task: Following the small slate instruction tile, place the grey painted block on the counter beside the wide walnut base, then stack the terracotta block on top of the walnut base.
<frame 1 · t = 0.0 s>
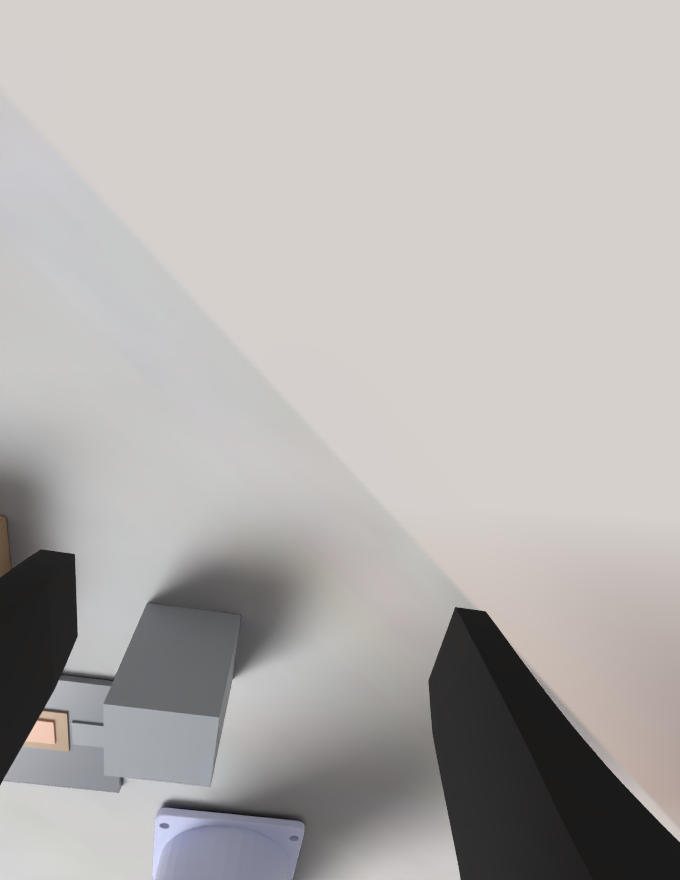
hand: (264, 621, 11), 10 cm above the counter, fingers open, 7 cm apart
grey block: (191, 641, 25), on the counter
instruction tile: (59, 730, 27), on the counter
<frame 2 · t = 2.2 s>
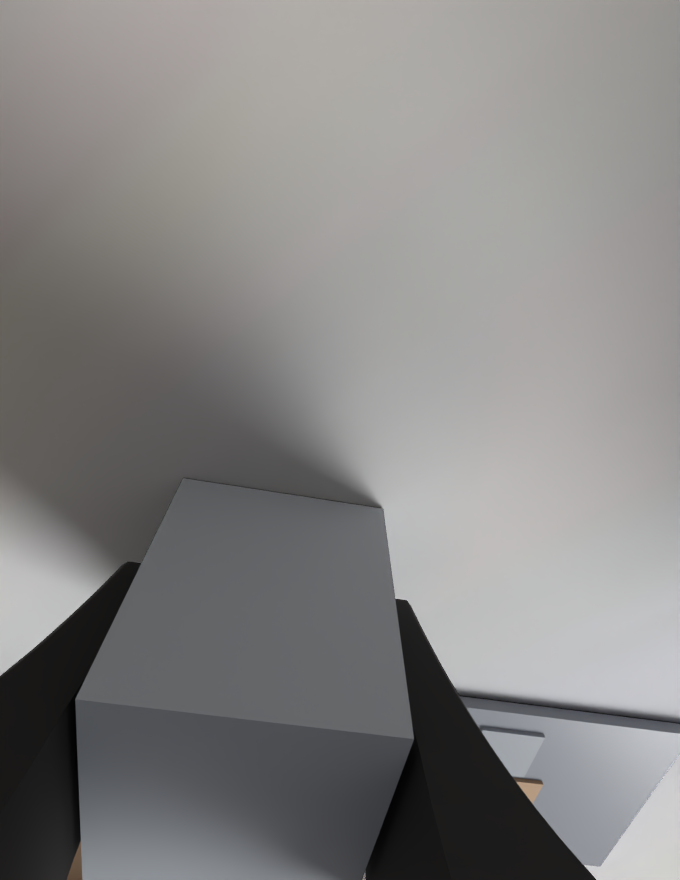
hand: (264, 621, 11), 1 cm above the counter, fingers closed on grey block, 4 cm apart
grey block: (271, 571, 12), on the counter, touching gripper
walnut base: (157, 850, 17), on the counter
instruction tile: (499, 779, 15), on the counter
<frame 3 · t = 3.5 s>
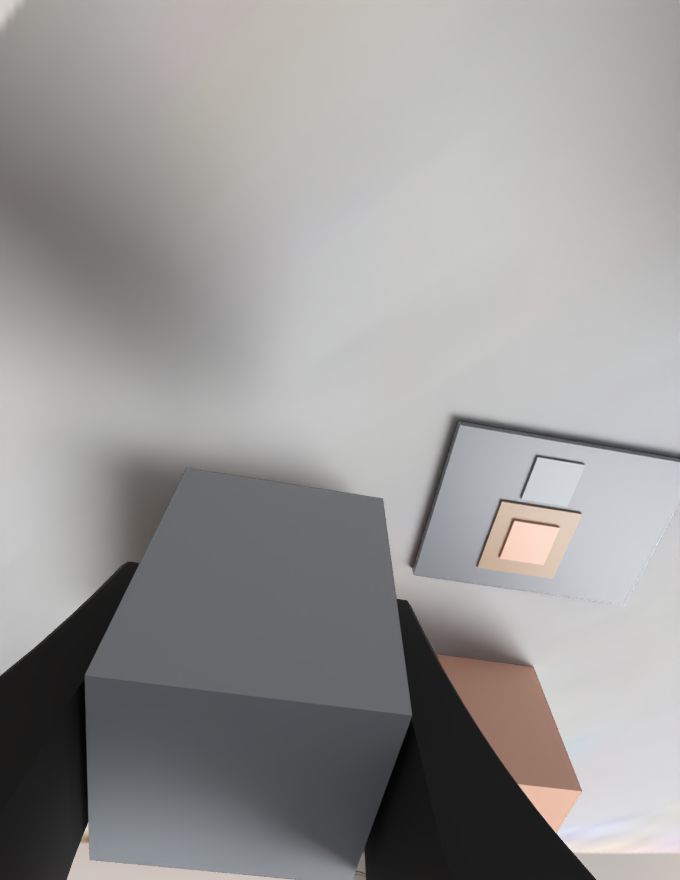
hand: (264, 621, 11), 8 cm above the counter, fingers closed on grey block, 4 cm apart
grey block: (273, 560, 12), point 6 cm above the counter, touching gripper
instruction tile: (546, 518, 19), on the counter
terracotta block: (471, 693, 23), on the counter
when the fingers open (3 cm above the counter, at t = 4.8 s): grey block stays where it is, on the counter.
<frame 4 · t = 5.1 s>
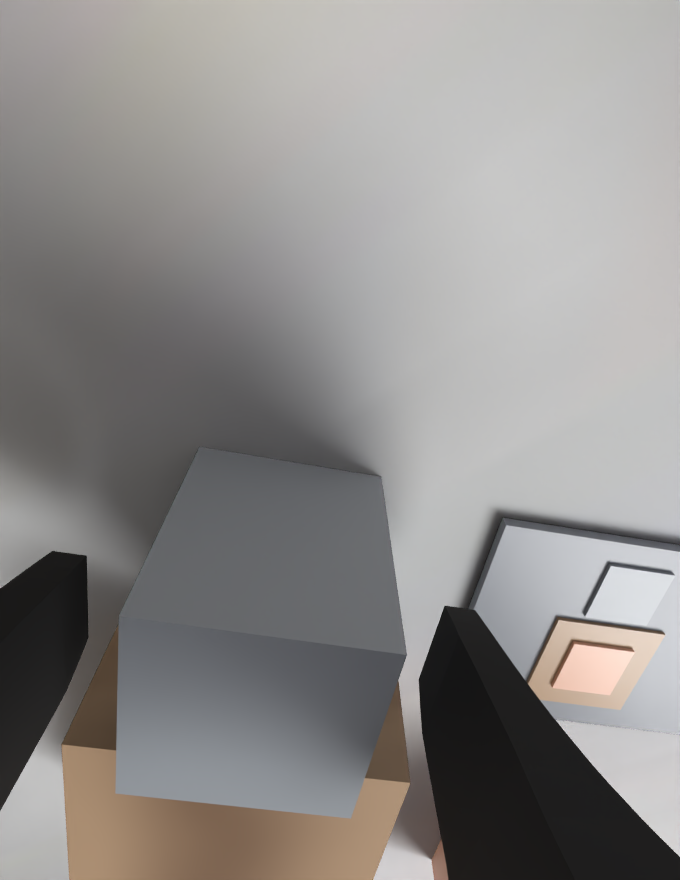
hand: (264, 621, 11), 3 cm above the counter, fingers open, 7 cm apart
grey block: (278, 534, 13), on the counter
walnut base: (246, 722, 16), on the counter
instruction tile: (614, 635, 14), on the counter
terracotta block: (505, 830, 18), on the counter
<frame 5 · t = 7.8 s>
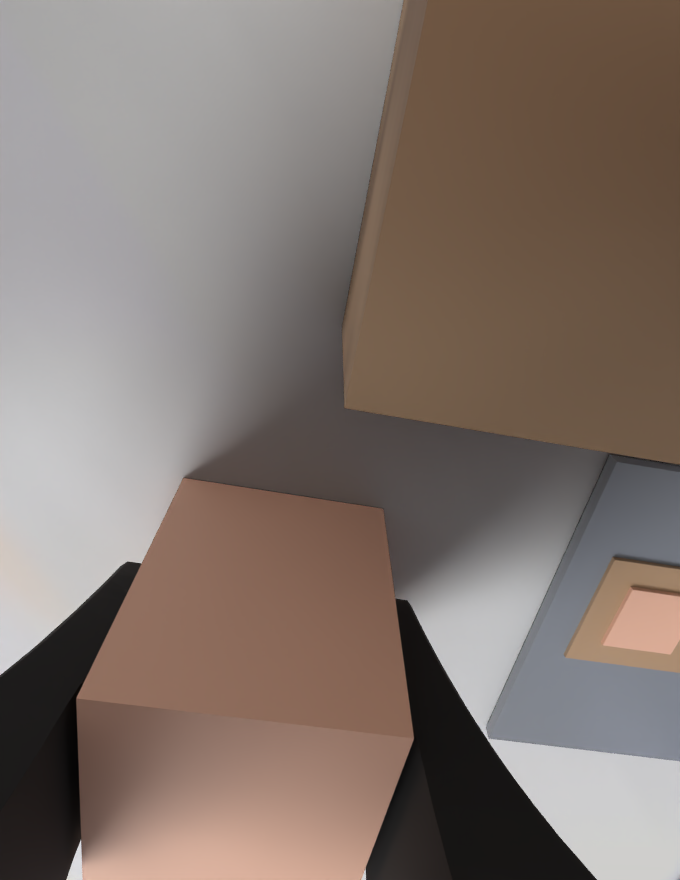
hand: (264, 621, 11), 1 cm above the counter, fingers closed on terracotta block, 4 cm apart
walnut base: (615, 141, 8), on the counter
instruction tile: (664, 627, 13), on the counter
terracotta block: (271, 571, 12), on the counter, touching gripper
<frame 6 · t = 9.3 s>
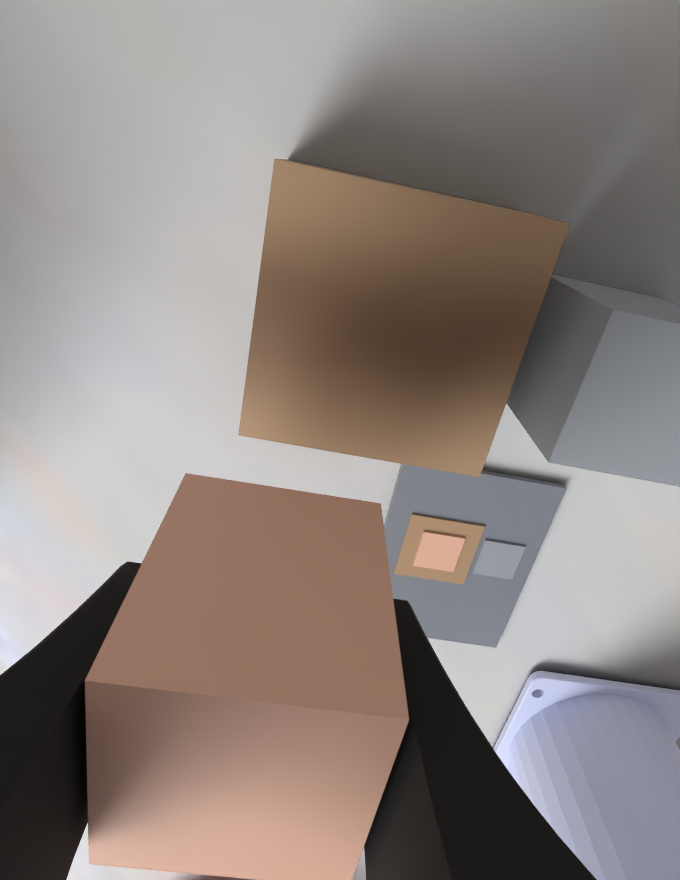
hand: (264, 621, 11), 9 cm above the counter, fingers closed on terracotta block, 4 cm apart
grey block: (576, 346, 18), on the counter
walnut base: (380, 306, 17), on the counter
instruction tile: (453, 557, 22), on the counter
terracotta block: (271, 565, 12), point 8 cm above the counter, touching gripper
when the fingers open (6 cm above the counter, at t = 10.8 s): terracotta block stays where it is, resting on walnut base.
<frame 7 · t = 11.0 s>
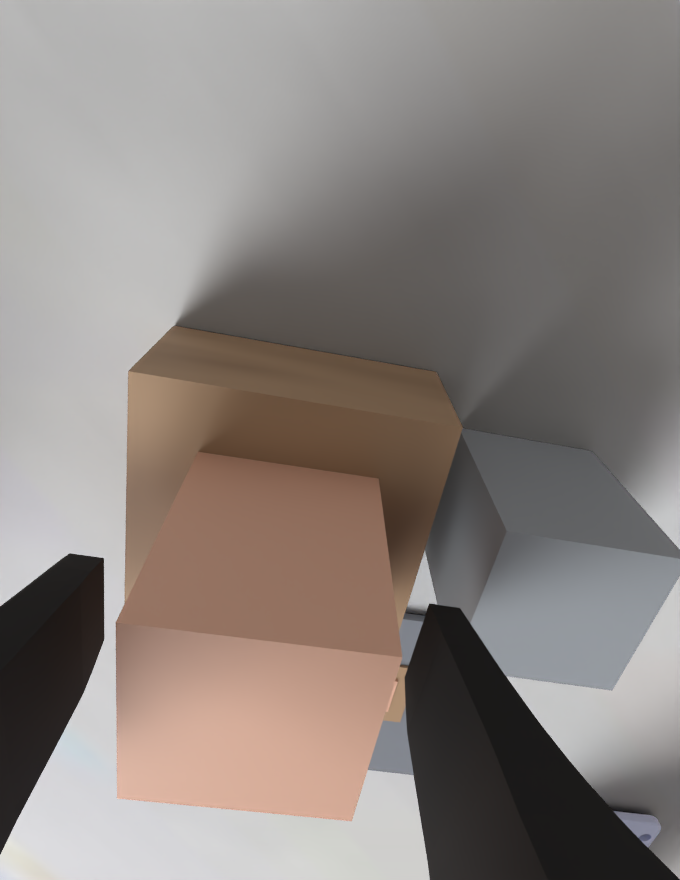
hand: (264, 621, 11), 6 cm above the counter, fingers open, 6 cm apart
grey block: (503, 496, 17), on the counter
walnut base: (289, 463, 16), on the counter
instruction tile: (388, 694, 21), on the counter
terracotta block: (278, 538, 13), point 3 cm above the counter, touching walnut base
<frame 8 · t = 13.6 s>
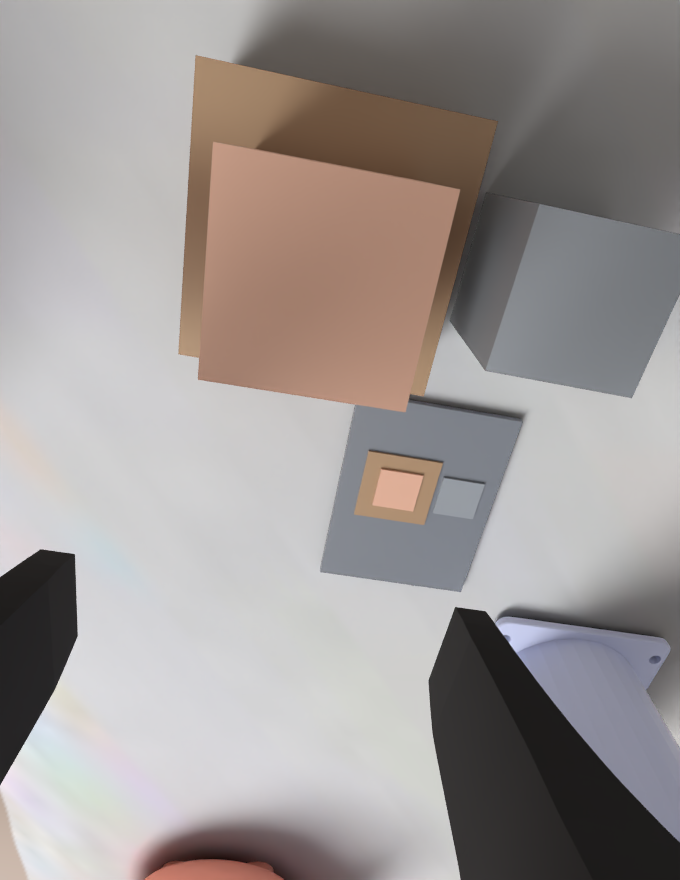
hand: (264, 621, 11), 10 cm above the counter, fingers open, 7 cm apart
grey block: (526, 271, 18), on the counter
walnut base: (326, 232, 17), on the counter
instruction tile: (413, 498, 22), on the counter
terracotta block: (324, 250, 14), point 3 cm above the counter, touching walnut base
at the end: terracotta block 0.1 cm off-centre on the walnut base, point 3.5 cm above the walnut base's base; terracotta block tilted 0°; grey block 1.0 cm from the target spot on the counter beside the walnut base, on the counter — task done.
